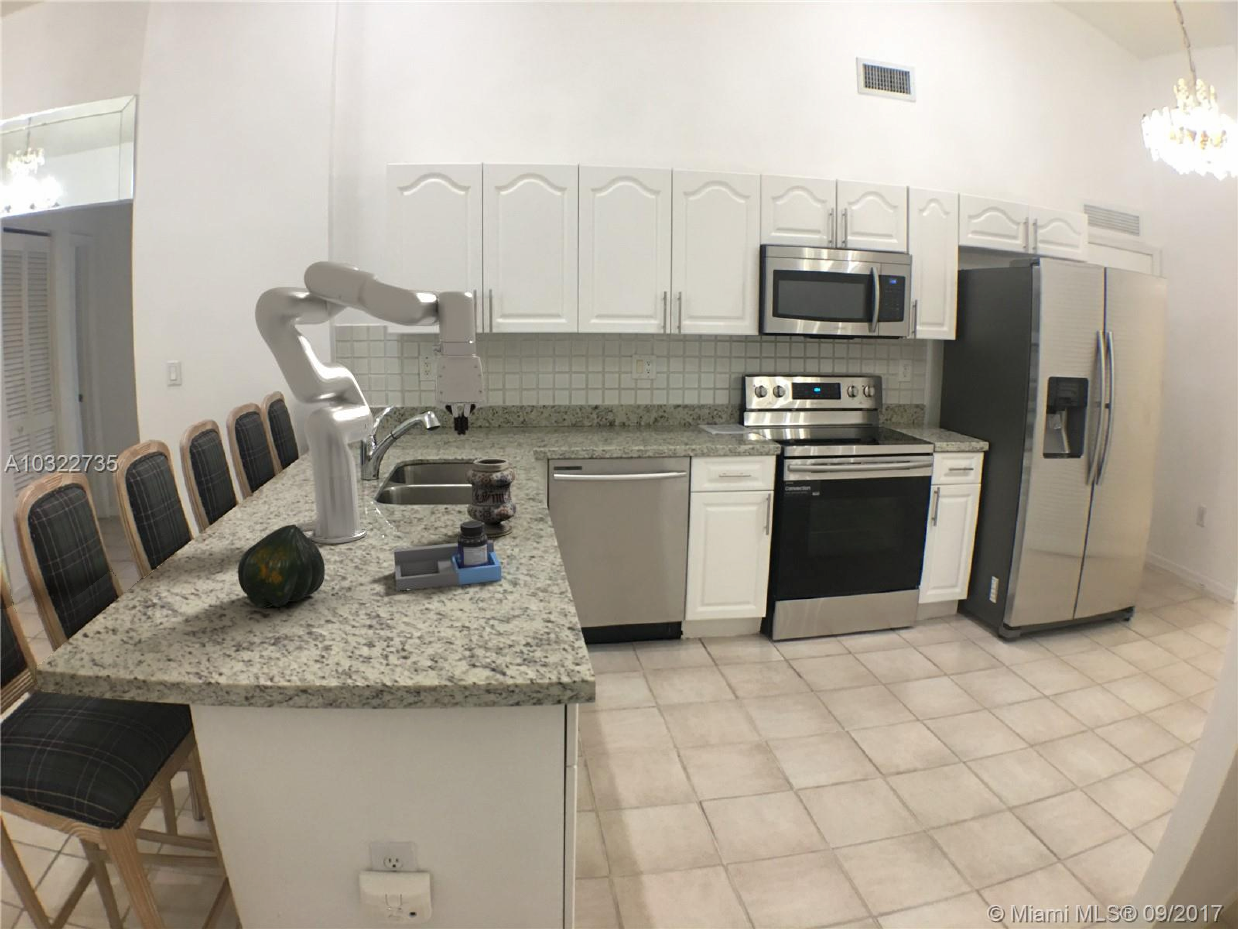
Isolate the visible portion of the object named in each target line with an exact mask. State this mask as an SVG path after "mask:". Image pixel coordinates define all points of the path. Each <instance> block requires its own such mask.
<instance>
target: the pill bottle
mask: <svg viewBox="0 0 1238 929" xmlns="http://www.w3.org/2000/svg"><path fill="white" fill-rule="evenodd" d="M459 527H460V529H459V530H460V532H461V534H459V536H457V542H456V543H458V563H459V569H461V568H471V567H480V566H489V565H488V540H489V539H488V538H489V537H487V536H486V534H484V533H483V529H484V523H483V522H480V521H476V520H468V521H463V522H461V523H460V525H459Z"/></svg>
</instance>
